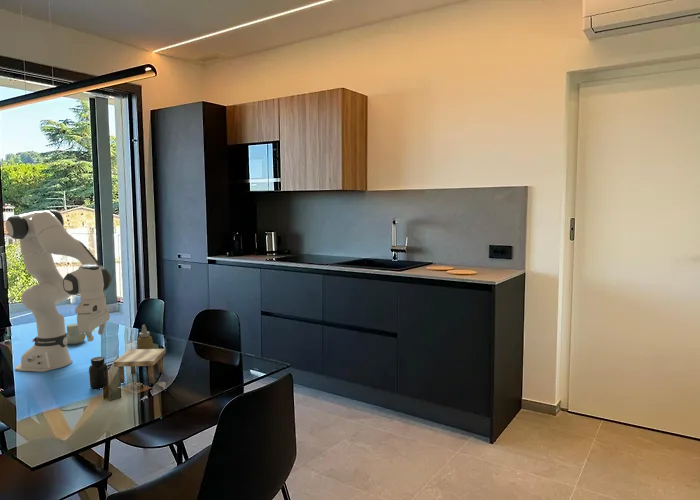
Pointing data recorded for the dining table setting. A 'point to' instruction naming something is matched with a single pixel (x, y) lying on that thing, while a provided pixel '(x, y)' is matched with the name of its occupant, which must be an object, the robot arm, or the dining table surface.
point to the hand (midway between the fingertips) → (96, 337)
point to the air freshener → (74, 334)
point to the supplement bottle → (98, 373)
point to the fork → (162, 384)
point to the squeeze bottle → (144, 339)
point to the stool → (140, 361)
